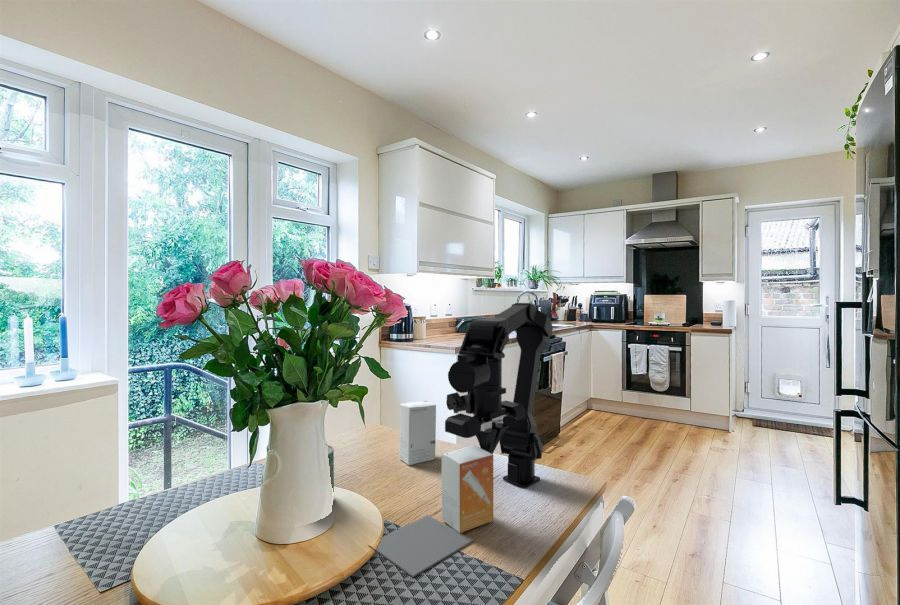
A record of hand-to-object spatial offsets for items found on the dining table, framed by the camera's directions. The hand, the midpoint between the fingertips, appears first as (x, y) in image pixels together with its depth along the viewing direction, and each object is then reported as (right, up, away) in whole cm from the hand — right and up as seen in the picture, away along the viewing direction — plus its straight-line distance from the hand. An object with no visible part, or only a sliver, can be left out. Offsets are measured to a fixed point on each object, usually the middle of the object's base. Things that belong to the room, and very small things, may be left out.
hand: (487, 460), depth 87 cm
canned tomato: (-36, -11, +4) cm, 38 cm away
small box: (-4, -10, -4) cm, 12 cm away
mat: (-12, -11, -11) cm, 20 cm away
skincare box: (-16, -10, +28) cm, 34 cm away
